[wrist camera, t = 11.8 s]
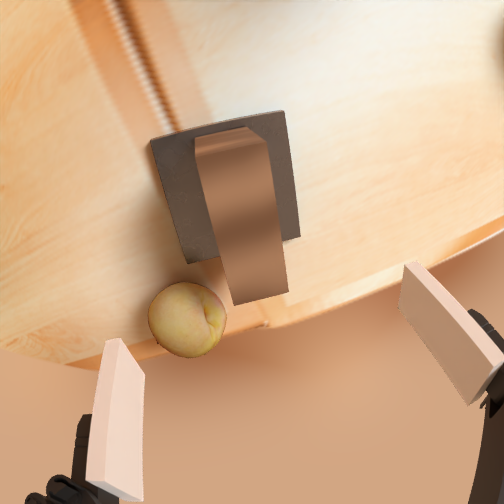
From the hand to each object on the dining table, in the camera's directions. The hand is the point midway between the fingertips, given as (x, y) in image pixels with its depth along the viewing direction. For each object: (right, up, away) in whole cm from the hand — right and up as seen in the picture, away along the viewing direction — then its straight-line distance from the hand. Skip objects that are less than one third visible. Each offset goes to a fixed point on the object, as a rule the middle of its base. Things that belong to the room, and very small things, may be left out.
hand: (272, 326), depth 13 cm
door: (-3, +8, +15) cm, 17 cm away
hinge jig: (-3, +9, +16) cm, 19 cm away
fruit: (-8, -2, +22) cm, 23 cm away
